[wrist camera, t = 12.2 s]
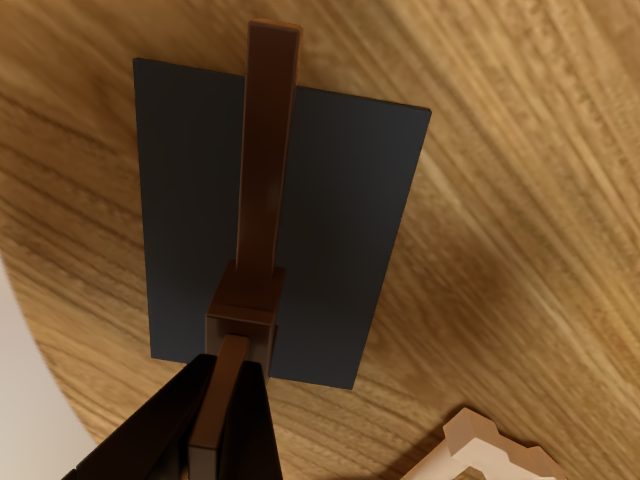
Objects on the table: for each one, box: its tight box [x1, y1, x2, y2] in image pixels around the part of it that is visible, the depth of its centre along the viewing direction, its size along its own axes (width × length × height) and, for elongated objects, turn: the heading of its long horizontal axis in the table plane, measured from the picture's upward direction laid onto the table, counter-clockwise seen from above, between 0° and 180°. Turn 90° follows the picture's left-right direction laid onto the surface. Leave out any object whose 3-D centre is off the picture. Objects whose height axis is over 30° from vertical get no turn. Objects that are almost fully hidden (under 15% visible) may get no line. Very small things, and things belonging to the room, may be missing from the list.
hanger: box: [187, 18, 303, 480], centre depth 10 cm, size 15×2×5 cm, turn 171°
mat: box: [133, 57, 432, 390], centre depth 14 cm, size 11×8×1 cm
